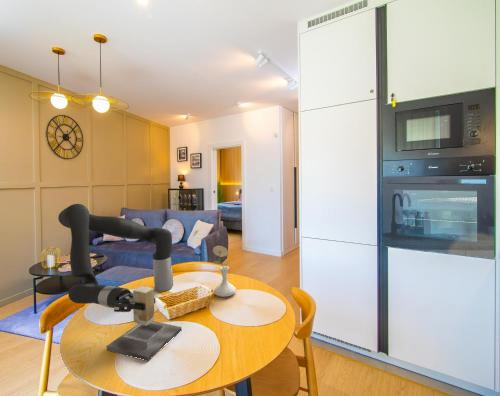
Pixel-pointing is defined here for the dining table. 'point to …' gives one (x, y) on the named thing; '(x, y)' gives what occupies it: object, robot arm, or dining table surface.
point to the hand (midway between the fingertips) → (149, 304)
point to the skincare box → (147, 298)
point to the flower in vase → (223, 274)
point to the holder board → (144, 340)
